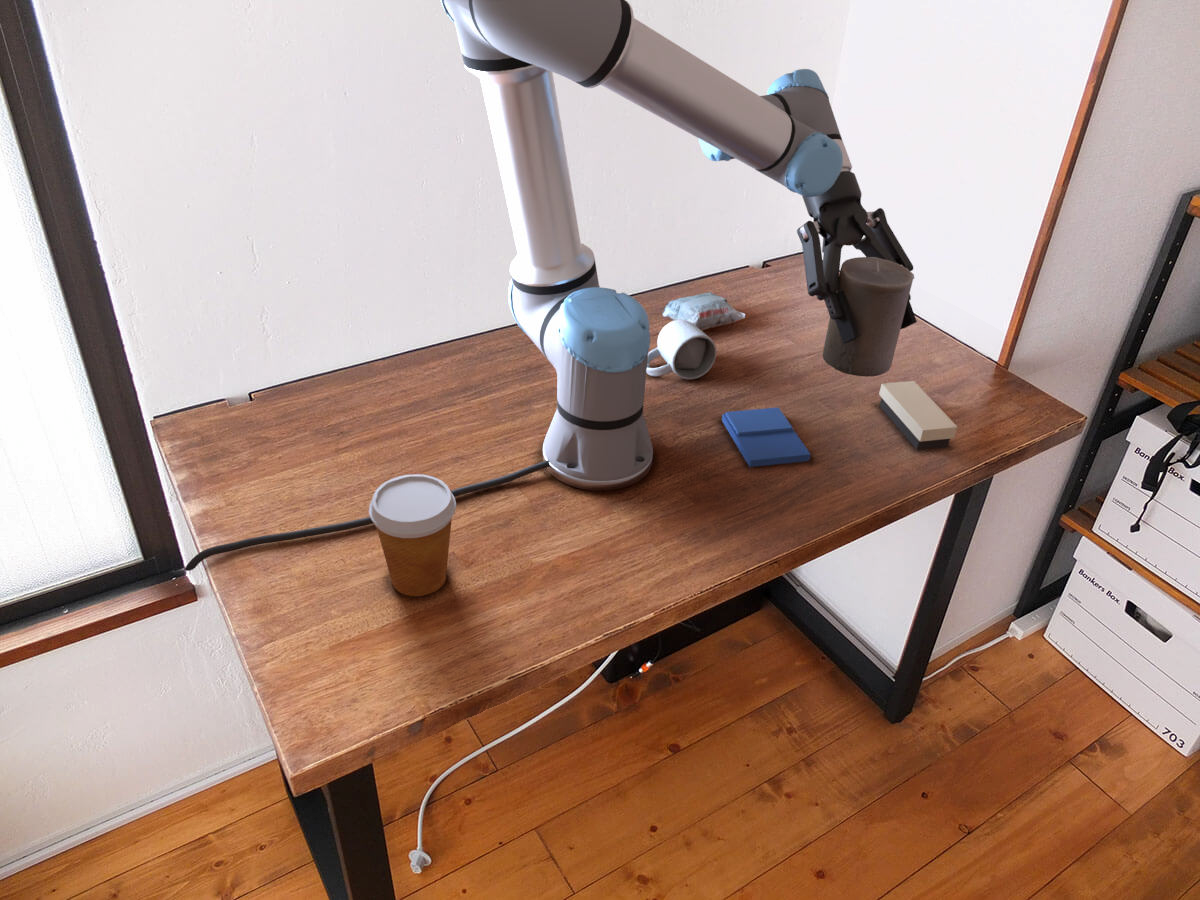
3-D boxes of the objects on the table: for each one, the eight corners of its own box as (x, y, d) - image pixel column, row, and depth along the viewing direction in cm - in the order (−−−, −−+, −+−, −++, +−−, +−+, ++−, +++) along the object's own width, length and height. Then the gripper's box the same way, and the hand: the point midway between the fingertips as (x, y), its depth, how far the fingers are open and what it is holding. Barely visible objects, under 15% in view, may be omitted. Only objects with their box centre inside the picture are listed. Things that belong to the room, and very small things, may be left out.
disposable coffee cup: (463, 551, 116) (459, 472, 109) (456, 607, 108) (451, 525, 101) (384, 550, 115) (375, 470, 109) (371, 606, 108) (360, 524, 101)
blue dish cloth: (749, 467, 133) (751, 457, 132) (721, 420, 142) (723, 410, 141) (809, 461, 135) (811, 451, 134) (778, 415, 144) (779, 405, 143)
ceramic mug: (692, 352, 159) (696, 310, 155) (714, 375, 153) (719, 333, 148) (634, 362, 156) (636, 320, 151) (654, 387, 150) (657, 344, 145)
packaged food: (743, 329, 167) (746, 303, 164) (686, 342, 162) (688, 316, 159) (715, 309, 173) (717, 284, 170) (659, 321, 168) (661, 296, 165)
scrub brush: (916, 452, 138) (923, 430, 136) (876, 404, 148) (881, 383, 146) (951, 448, 139) (957, 426, 137) (908, 401, 149) (914, 380, 147)
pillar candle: (828, 375, 132) (850, 275, 123) (817, 341, 140) (836, 245, 131) (898, 379, 132) (925, 279, 123) (883, 345, 140) (907, 249, 131)
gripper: (871, 183, 140) (922, 326, 138) (747, 204, 131) (800, 357, 129) (904, 159, 133) (958, 308, 131) (776, 178, 124) (832, 340, 122)
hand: (880, 332), depth 130 cm, fingers closed on pillar candle, 9 cm apart
